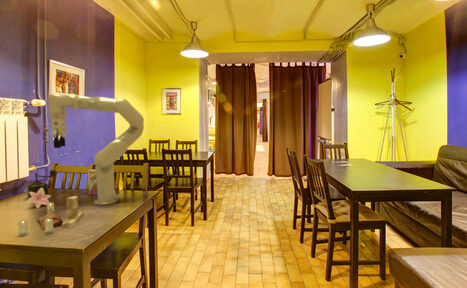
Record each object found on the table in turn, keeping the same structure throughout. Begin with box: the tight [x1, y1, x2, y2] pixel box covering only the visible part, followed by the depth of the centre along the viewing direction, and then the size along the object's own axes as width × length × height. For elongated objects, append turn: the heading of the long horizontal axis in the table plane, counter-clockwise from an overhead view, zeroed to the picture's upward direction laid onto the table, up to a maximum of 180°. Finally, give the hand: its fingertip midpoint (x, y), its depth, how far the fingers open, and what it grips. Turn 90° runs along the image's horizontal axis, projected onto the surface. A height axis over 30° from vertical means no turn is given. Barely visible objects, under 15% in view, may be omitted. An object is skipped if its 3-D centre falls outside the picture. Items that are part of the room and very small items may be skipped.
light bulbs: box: [17, 202, 55, 237], centre depth 127 cm, size 13×29×6 cm, turn 12°
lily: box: [25, 188, 52, 209], centre depth 153 cm, size 12×12×10 cm
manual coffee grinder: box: [25, 169, 57, 201], centre depth 170 cm, size 16×11×18 cm
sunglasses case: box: [36, 210, 64, 231], centre depth 128 cm, size 18×7×7 cm, turn 44°
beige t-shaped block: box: [61, 195, 84, 229], centre depth 129 cm, size 4×16×12 cm, turn 12°
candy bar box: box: [86, 169, 97, 196], centre depth 177 cm, size 11×5×16 cm, turn 86°
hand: (59, 147), depth 149 cm, fingers open, 9 cm apart
